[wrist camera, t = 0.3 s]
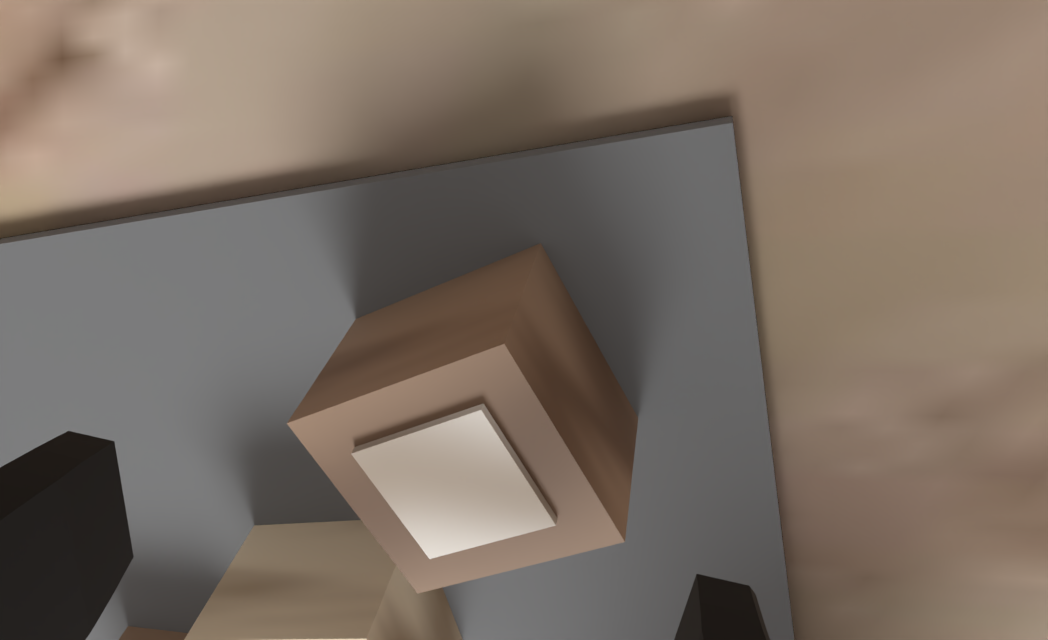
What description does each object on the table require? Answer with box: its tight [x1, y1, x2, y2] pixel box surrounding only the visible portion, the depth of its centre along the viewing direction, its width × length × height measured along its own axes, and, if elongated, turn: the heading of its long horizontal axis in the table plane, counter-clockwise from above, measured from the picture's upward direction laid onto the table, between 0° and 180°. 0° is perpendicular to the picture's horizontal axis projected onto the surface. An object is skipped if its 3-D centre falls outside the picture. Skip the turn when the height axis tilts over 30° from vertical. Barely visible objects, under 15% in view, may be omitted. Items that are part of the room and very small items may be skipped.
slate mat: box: [0, 116, 794, 640], centre depth 25 cm, size 20×24×1 cm
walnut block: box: [287, 243, 638, 593], centre depth 19 cm, size 5×5×4 cm
